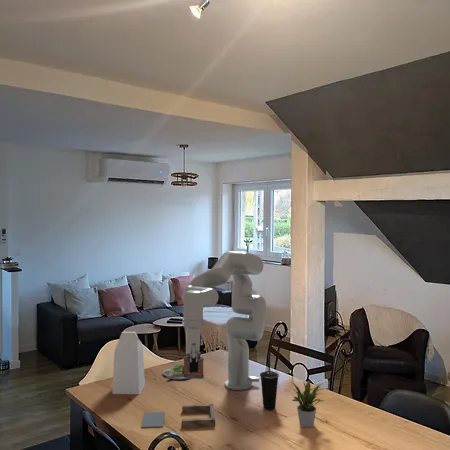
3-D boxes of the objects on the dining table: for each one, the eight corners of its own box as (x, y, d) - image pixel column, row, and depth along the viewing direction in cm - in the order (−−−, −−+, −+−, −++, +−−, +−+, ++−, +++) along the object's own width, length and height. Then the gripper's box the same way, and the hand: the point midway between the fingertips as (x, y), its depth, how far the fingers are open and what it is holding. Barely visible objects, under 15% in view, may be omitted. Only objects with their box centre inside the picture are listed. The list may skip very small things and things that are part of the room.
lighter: (204, 376, 174) (204, 350, 174) (202, 379, 171) (202, 353, 171) (185, 374, 176) (185, 349, 176) (182, 377, 173) (182, 351, 173)
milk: (144, 384, 209) (144, 328, 209) (139, 394, 198) (139, 335, 197) (119, 384, 210) (118, 328, 209) (112, 393, 198) (111, 335, 198)
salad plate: (179, 385, 209) (179, 375, 209) (153, 377, 220) (153, 367, 220) (206, 374, 224) (206, 364, 224) (181, 366, 235) (181, 357, 235)
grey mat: (164, 413, 179) (164, 412, 179) (162, 427, 167) (162, 426, 167) (144, 413, 178) (144, 412, 178) (141, 427, 166) (141, 426, 166)
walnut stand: (213, 410, 181) (213, 404, 181) (215, 426, 167) (215, 419, 167) (182, 411, 180) (182, 405, 180) (181, 427, 166) (181, 420, 166)
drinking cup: (278, 412, 179) (278, 362, 179) (258, 410, 181) (258, 361, 180) (279, 404, 187) (279, 356, 186) (261, 403, 188) (261, 355, 188)
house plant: (334, 433, 162) (334, 388, 161) (297, 436, 160) (297, 390, 159) (319, 416, 176) (319, 374, 176) (285, 418, 174) (285, 376, 173)
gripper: (183, 318, 181) (183, 363, 182) (183, 328, 164) (183, 378, 165) (202, 317, 182) (202, 362, 182) (204, 328, 165) (204, 377, 165)
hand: (193, 369), depth 173 cm, fingers closed on lighter, 4 cm apart
